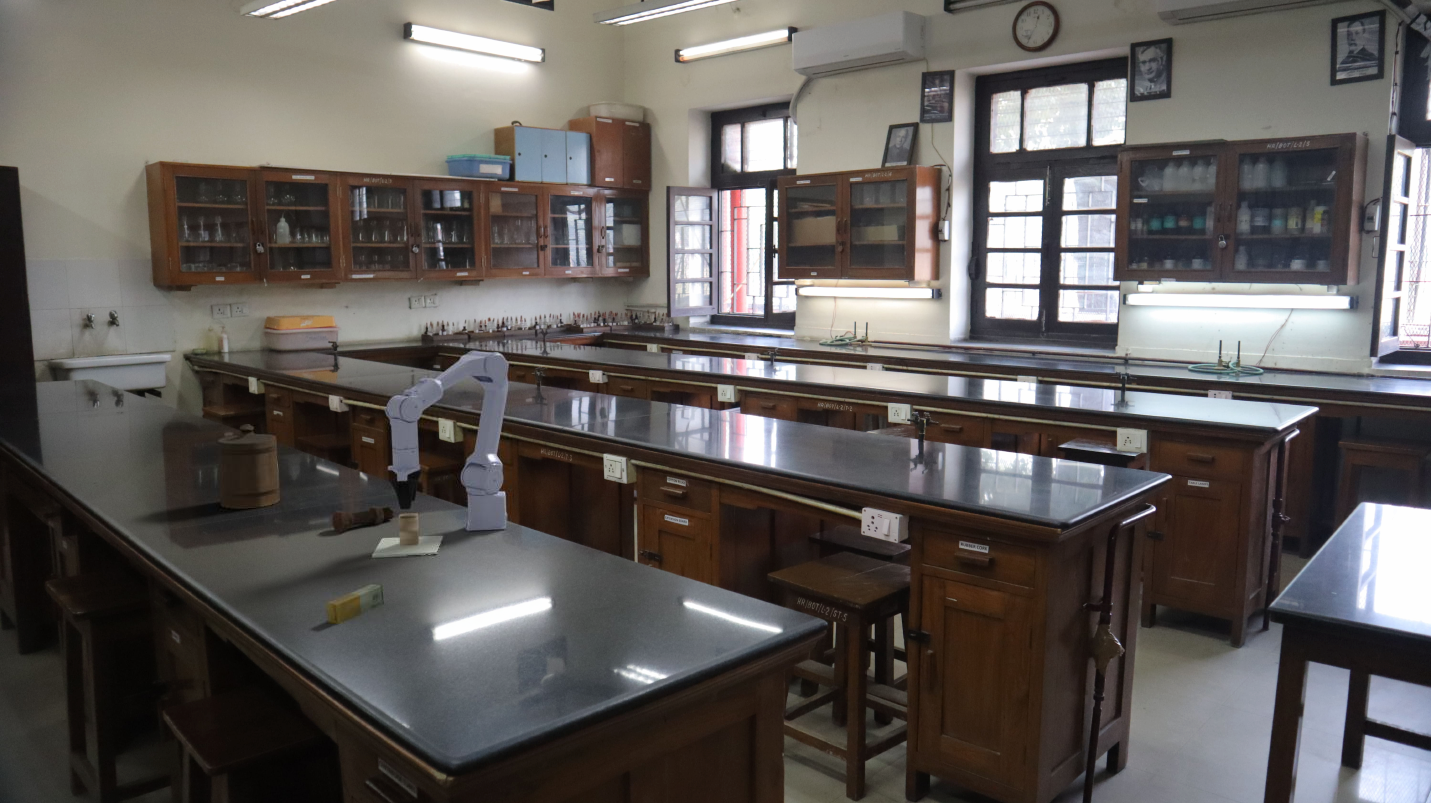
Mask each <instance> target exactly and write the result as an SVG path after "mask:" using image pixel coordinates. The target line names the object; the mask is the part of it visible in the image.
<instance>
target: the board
mask: <svg viewBox="0 0 1431 803" xmlns="http://www.w3.org/2000/svg"><path fill="white" fill-rule="evenodd" d="M443 539H444V535H428V536H427V535H425V536H424V535H423V536H419V543H418V545H404V546H400V537H383V538H381V540H380V542H379V543H378V545H377V546H376V548H375V550H374V551H373V553H372V554H371V559H375V558H377V559H378V558H391V557H392V558H394V557H395V558H397V557H408V556H407V555H421V556H432V555H431V554H437V555H438V552H439V550H438V549H440V547H441V544H442V542H441V541H443ZM439 546H440V547H439ZM437 551H438V552H437ZM426 554H428V555H426Z"/></svg>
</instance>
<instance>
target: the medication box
mask: <svg viewBox="0 0 1431 803" xmlns="http://www.w3.org/2000/svg"><path fill="white" fill-rule="evenodd" d="M384 604H385V601H384V593H383V585H382V584H378V583H371V584H368V585H366V586H365V587H362V588H358V589H357V590H354V591H352V592H350V593H347V594H345V595H343V596H340V597H339V598H336V599H333V600H331V601H329V602H327V603H326V612H327V618H328V619H327V622H328V623H330V624H337V625H339V624H342V623H344V622H346V621H348V620H351V619H353V618H356V617H358V616H360V615H361V614H365V613H367V612H369V611H371V610H374V609H375V608H378V607H380V606H383V605H384Z"/></svg>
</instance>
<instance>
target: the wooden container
mask: <svg viewBox="0 0 1431 803" xmlns="http://www.w3.org/2000/svg"><path fill="white" fill-rule="evenodd" d="M254 429H255V428H254V426H253V425H251V424H249V423H247V424H242V425H241V426H240V427H239V431H240V433H239V434H238V435H231V436H226V437H221V438H219V439H218V440H217V451H218V453H217V454H218V480H219V494H220V495H219V497H220V498H219V499H220V506H221V507H222V508H224V507H225V509H229V508H230V509H231V510H249V508H252V509H257V508H258V507H260V508H264V506H265V507H269V506H272V504H273V505H275V504H277V503H279V502H280V500H281V494H280V493H281V491H280V476H279V473H280V472H279V465H278V452H277V448H278V446H277V443H278V442H277V436H276V435H273V434H266V433H265V434H264V433H262V434H261V433H259V434H258V433H254ZM258 509H259V508H258Z"/></svg>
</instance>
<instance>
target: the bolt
mask: <svg viewBox="0 0 1431 803" xmlns="http://www.w3.org/2000/svg"><path fill="white" fill-rule="evenodd" d="M394 514H395V510H394V509H392V508H391V507H389V506H388V507H381V506H377V505H375V506H371V507H370V508H369V509H368V510H363V511H357V512H351V513H350V512H349V513H347V512H346V511H343V510H341V509H340V510H335V511H334V513H333V515H332V518H331V519H332V522H331V524H332V527H333V529H334V530H335V532H338V533H346V532H347V531H348V529H349V528H350V527H355V526H360V525H366V524H371V525H382V523H383V522H384V521H388V520H392V519H393V518H395V515H394Z"/></svg>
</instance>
